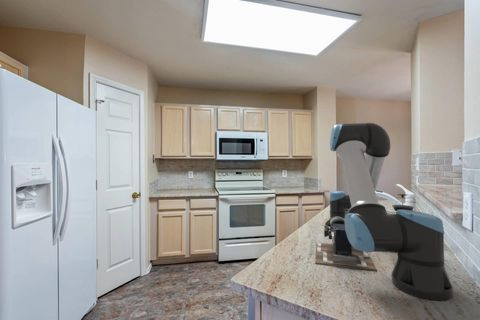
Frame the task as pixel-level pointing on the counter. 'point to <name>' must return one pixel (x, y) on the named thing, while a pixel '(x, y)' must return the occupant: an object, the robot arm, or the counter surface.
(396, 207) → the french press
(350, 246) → the small box
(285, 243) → the counter surface
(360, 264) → the keyhole plate
